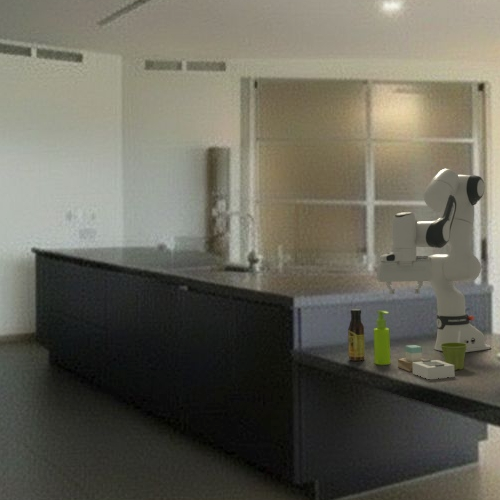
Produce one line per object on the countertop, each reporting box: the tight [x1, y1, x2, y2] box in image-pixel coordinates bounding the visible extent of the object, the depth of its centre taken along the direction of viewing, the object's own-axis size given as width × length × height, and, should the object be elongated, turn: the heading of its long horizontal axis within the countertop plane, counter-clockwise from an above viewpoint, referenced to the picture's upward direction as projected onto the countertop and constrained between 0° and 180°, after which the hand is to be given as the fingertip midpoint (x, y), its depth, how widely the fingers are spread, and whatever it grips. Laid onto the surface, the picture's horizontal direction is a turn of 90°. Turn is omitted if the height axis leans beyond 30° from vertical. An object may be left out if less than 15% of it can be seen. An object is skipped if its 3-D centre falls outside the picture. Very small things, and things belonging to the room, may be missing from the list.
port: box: [412, 359, 456, 380], centre depth 261 cm, size 10×11×4 cm
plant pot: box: [440, 343, 467, 371], centre depth 271 cm, size 9×9×9 cm
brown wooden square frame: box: [397, 357, 427, 372], centre depth 274 cm, size 9×10×3 cm
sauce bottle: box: [347, 308, 366, 362], centre depth 294 cm, size 6×6×20 cm
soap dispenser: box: [373, 310, 391, 366], centre depth 285 cm, size 6×7×20 cm
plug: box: [404, 344, 423, 362], centre depth 274 cm, size 4×5×8 cm
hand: (404, 293), depth 278 cm, fingers open, 8 cm apart
